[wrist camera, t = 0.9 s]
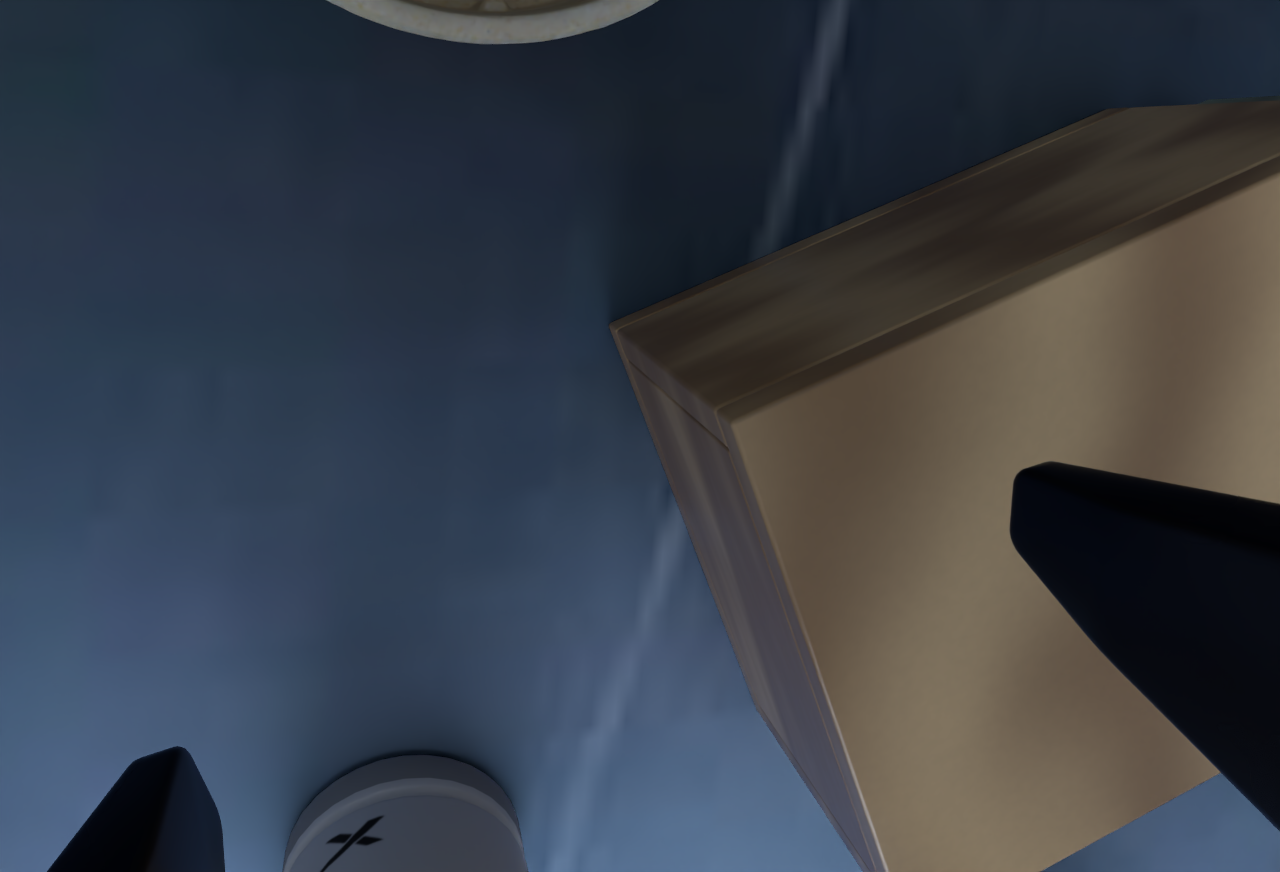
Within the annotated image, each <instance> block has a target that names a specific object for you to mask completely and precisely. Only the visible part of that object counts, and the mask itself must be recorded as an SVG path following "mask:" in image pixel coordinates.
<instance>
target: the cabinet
mask: <svg viewBox="0 0 1280 872" xmlns="http://www.w3.org/2000/svg"><path fill="white" fill-rule="evenodd" d="M609 328H610V331H611V333H612V336H613V338H614V341H615V344H616V346H617V349H618V351H619V354H620V357H621V359H622V362H623V364H624V367H625V370H626V372H627V375H628V377H629V380H630V383H631V385H632V388H633V390H634V393H635V395H636V398H637V401H638V403H639V406H640V408H641V411H642V414H643V416H644V419H645V421H646V424H647V427H648V429H649V432H650V434H651V437H652V440H653V442H654V445H655V447H656V450H657V453H658V455H659V458H660V460H661V463H662V466H663V468H664V471H665V473H666V476H667V478H668V481H669V484H670V486H671V489H672V491H673V494H674V497H675V499H676V502H677V504H678V507H679V510H680V512H681V515H682V517H683V520H684V523H685V525H686V528H687V530H688V533H689V536H690V538H691V541H692V543H693V546H694V549H695V551H696V554H697V556H698V559H699V562H700V564H701V567H702V569H703V572H704V574H705V577H706V580H707V582H708V585H709V587H710V590H711V593H712V595H713V598H714V600H715V603H716V606H717V608H718V611H719V613H720V616H721V619H722V621H723V624H724V626H725V629H726V632H727V634H728V637H729V639H730V642H731V645H732V647H733V650H734V652H735V655H736V657H737V660H738V663H739V665H740V668H741V670H742V673H743V676H744V678H745V681H746V683H747V686H748V689H749V691H750V694H751V696H752V699H753V702H754V704H755V707H756V709H757V711H758V712H759V714H760V715H761V717H762V718H763V720H764V721H765V723H766V724H767V726H768V728H769V729H770V731H771V732H772V734H773V735H774V737H775V738H776V740H777V741H778V743H779V745H780V746H781V748H782V749H783V751H784V752H785V754H786V755H787V757H788V758H789V760H790V761H791V763H792V764H793V766H794V767H795V769H796V770H797V772H798V773H799V775H800V776H801V778H802V780H803V781H804V783H805V784H806V786H807V787H808V789H809V790H810V792H811V793H812V795H813V796H814V798H815V799H816V801H817V802H818V804H819V805H820V807H821V808H822V810H823V811H824V813H825V815H826V816H827V818H828V819H829V821H830V822H831V824H832V825H833V827H834V828H835V830H836V831H837V833H838V834H839V836H840V837H841V839H842V840H843V842H844V843H845V845H846V847H847V848H848V850H849V851H850V853H851V854H852V856H853V857H854V859H855V860H856V862H857V863H858V865H859V866H860V868H861V869H862V871H863V872H1041V871H1043V870H1044V869H1046V868H1048V867H1050V866H1052V865H1054V864H1055V863H1057V862H1059V861H1061V860H1063V859H1064V858H1066V857H1068V856H1070V855H1072V854H1074V853H1075V852H1077V851H1079V850H1081V849H1083V848H1084V847H1086V846H1088V845H1090V844H1092V843H1094V842H1095V841H1097V840H1099V839H1101V838H1103V837H1105V836H1106V835H1108V834H1110V833H1112V832H1114V831H1115V830H1117V829H1119V828H1121V827H1123V826H1125V825H1126V824H1128V823H1130V822H1132V821H1134V820H1136V819H1137V818H1139V817H1141V816H1143V815H1145V814H1146V813H1148V812H1150V811H1152V810H1154V809H1156V808H1157V807H1159V806H1161V805H1163V804H1165V803H1166V802H1168V801H1170V800H1172V799H1174V798H1176V797H1177V796H1179V795H1181V794H1183V793H1185V792H1187V791H1188V790H1190V789H1192V788H1194V787H1196V786H1197V785H1199V784H1201V783H1203V782H1205V781H1207V780H1208V779H1210V778H1212V777H1214V776H1216V775H1218V774H1219V773H1221V772H1220V771H1219V770H1218V769H1217V768H1216V767H1215V766H1214V765H1213V764H1212V763H1211V762H1210V761H1209V760H1208V759H1207V758H1206V757H1205V756H1204V755H1203V754H1202V753H1201V752H1200V751H1199V750H1198V749H1197V748H1196V747H1195V746H1194V745H1193V744H1192V743H1191V742H1190V741H1189V740H1188V739H1187V738H1186V737H1185V736H1184V735H1183V734H1182V733H1181V732H1180V731H1179V730H1178V729H1177V728H1176V727H1175V726H1174V725H1173V724H1172V723H1171V722H1170V721H1169V720H1168V719H1167V718H1166V717H1165V716H1164V715H1163V714H1162V713H1161V712H1160V711H1159V710H1158V709H1157V708H1156V707H1155V706H1154V705H1153V704H1152V703H1151V702H1150V701H1149V700H1148V699H1147V698H1146V697H1145V696H1144V695H1143V694H1142V693H1141V692H1140V691H1139V690H1138V689H1137V688H1136V687H1135V686H1134V685H1133V684H1132V683H1131V682H1130V681H1129V680H1128V679H1127V678H1126V677H1125V676H1124V675H1123V674H1122V673H1121V672H1120V671H1119V670H1118V669H1117V668H1116V667H1115V666H1114V665H1113V664H1112V663H1111V662H1110V661H1109V660H1108V659H1107V658H1106V657H1105V656H1104V655H1103V654H1102V653H1101V652H1100V651H1099V649H1098V648H1097V647H1096V646H1095V645H1094V644H1093V643H1092V641H1091V640H1090V639H1089V638H1088V637H1087V636H1086V634H1085V633H1084V632H1083V631H1082V630H1081V628H1080V627H1079V626H1078V625H1077V624H1076V622H1075V621H1074V620H1073V619H1072V618H1071V616H1070V615H1069V614H1068V613H1067V612H1066V610H1065V609H1064V608H1063V607H1062V606H1061V604H1060V603H1059V602H1058V601H1057V599H1056V598H1055V597H1054V596H1053V595H1052V593H1051V592H1050V591H1049V590H1048V589H1047V587H1046V586H1045V585H1044V584H1043V583H1042V581H1041V580H1040V579H1039V578H1038V576H1037V575H1036V574H1035V573H1034V572H1033V570H1032V569H1031V568H1030V567H1029V566H1028V564H1027V563H1026V562H1025V561H1024V560H1023V558H1022V557H1021V556H1020V555H1019V553H1018V552H1017V551H1016V549H1015V547H1014V545H1013V543H1012V540H1011V537H1010V532H1009V527H1010V515H1011V502H1012V490H1013V481H1014V478H1015V476H1016V475H1017V473H1018V472H1019V471H1021V470H1022V469H1025V468H1028V467H1031V466H1034V465H1037V464H1040V463H1043V462H1047V461H1056V462H1061V463H1067V464H1072V465H1077V466H1082V467H1088V468H1093V469H1098V470H1104V471H1109V472H1114V473H1120V474H1125V475H1130V476H1136V477H1141V478H1146V479H1151V480H1157V481H1162V482H1167V483H1173V484H1178V485H1183V486H1189V487H1194V488H1199V489H1204V490H1210V491H1215V492H1220V493H1226V494H1231V495H1236V496H1242V497H1247V498H1252V499H1258V500H1263V501H1268V502H1273V503H1279V504H1280V100H1275V101H1255V102H1235V103H1215V104H1195V105H1175V106H1155V107H1135V108H1110V109H1106V110H1104V111H1101V112H1099V113H1097V114H1094V115H1092V116H1090V117H1087V118H1085V119H1083V120H1080V121H1078V122H1076V123H1073V124H1071V125H1069V126H1066V127H1064V128H1062V129H1059V130H1057V131H1055V132H1053V133H1050V134H1048V135H1046V136H1043V137H1041V138H1039V139H1036V140H1034V141H1032V142H1029V143H1027V144H1025V145H1022V146H1020V147H1018V148H1015V149H1013V150H1011V151H1008V152H1006V153H1004V154H1001V155H999V156H997V157H994V158H992V159H990V160H988V161H985V162H983V163H981V164H978V165H976V166H974V167H971V168H969V169H967V170H964V171H962V172H960V173H957V174H955V175H953V176H950V177H948V178H946V179H943V180H941V181H939V182H936V183H934V184H932V185H929V186H927V187H925V188H923V189H920V190H918V191H916V192H913V193H911V194H909V195H906V196H904V197H902V198H899V199H897V200H895V201H892V202H890V203H888V204H885V205H883V206H881V207H878V208H876V209H874V210H871V211H869V212H867V213H864V214H862V215H860V216H858V217H855V218H853V219H851V220H848V221H846V222H844V223H841V224H839V225H837V226H834V227H832V228H830V229H827V230H825V231H823V232H820V233H818V234H816V235H813V236H811V237H809V238H806V239H804V240H802V241H799V242H797V243H795V244H793V245H790V246H788V247H786V248H783V249H781V250H779V251H776V252H774V253H772V254H769V255H767V256H765V257H762V258H760V259H758V260H755V261H753V262H751V263H748V264H746V265H744V266H741V267H739V268H737V269H734V270H732V271H730V272H727V273H725V274H723V275H721V276H718V277H716V278H714V279H711V280H709V281H707V282H704V283H702V284H700V285H697V286H695V287H693V288H690V289H688V290H686V291H683V292H681V293H679V294H676V295H674V296H672V297H669V298H667V299H665V300H662V301H660V302H658V303H656V304H653V305H651V306H649V307H646V308H644V309H642V310H639V311H637V312H635V313H632V314H630V315H628V316H625V317H623V318H621V319H618V320H616V321H614V322H611V323H610V324H609Z"/></svg>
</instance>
